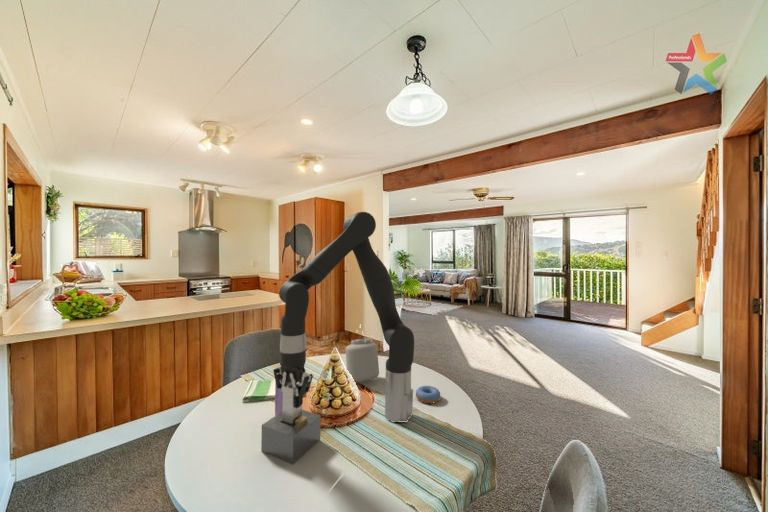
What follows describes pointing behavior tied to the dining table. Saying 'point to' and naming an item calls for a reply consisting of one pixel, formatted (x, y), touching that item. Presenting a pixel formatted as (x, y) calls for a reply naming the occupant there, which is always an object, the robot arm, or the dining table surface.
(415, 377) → the dining table surface
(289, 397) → the column
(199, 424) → the dining table surface
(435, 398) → the doughnut
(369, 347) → the jar
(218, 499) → the dining table surface
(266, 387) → the dish towel
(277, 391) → the beverage can
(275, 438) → the base
